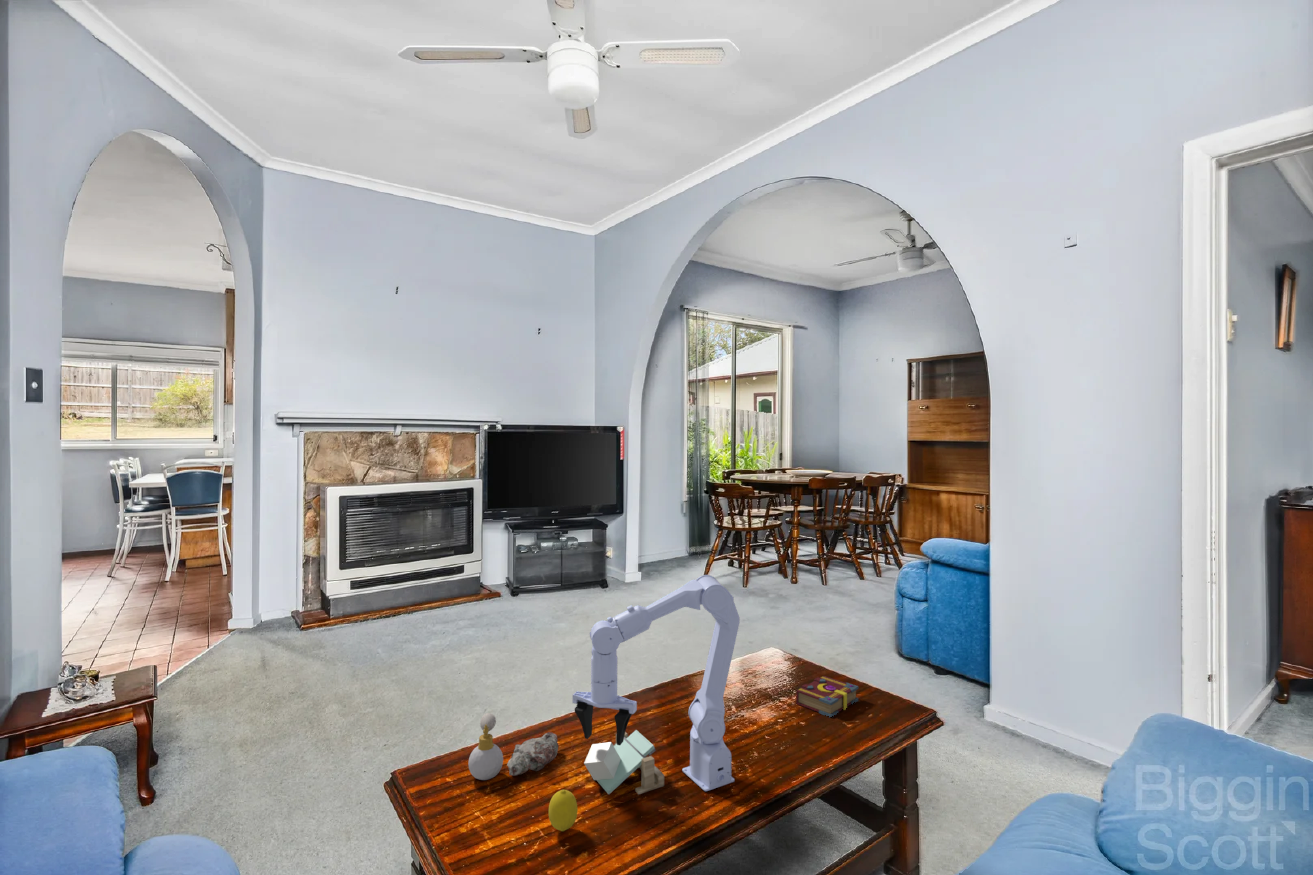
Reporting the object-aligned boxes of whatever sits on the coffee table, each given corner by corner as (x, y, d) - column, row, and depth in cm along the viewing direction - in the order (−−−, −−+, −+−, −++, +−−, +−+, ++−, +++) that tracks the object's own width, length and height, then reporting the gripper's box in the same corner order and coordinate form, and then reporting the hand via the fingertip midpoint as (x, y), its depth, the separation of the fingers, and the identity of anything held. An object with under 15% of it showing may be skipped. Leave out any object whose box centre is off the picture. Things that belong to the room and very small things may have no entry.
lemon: (578, 821, 123) (578, 781, 123) (575, 840, 118) (575, 798, 118) (550, 821, 123) (550, 781, 123) (546, 840, 118) (546, 798, 118)
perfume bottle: (473, 789, 134) (473, 734, 133) (461, 768, 142) (461, 716, 142) (507, 779, 138) (507, 725, 137) (494, 759, 146) (494, 708, 146)
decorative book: (795, 705, 175) (795, 687, 175) (825, 688, 187) (825, 671, 187) (831, 719, 167) (831, 700, 167) (860, 700, 179) (860, 683, 178)
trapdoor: (660, 754, 137) (656, 747, 136) (612, 800, 131) (607, 792, 131) (637, 734, 146) (633, 726, 146) (591, 775, 140) (587, 768, 140)
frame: (664, 785, 136) (664, 755, 136) (638, 794, 132) (638, 763, 132) (634, 756, 148) (634, 728, 147) (609, 763, 144) (609, 735, 144)
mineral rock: (515, 784, 136) (515, 764, 136) (496, 769, 142) (497, 749, 142) (570, 759, 146) (570, 741, 146) (551, 746, 152) (551, 728, 152)
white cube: (620, 758, 138) (611, 741, 137) (613, 778, 133) (603, 761, 132) (601, 760, 140) (592, 744, 139) (594, 780, 135) (584, 763, 134)
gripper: (642, 675, 137) (641, 736, 137) (582, 666, 142) (582, 725, 142) (629, 688, 130) (629, 752, 130) (567, 678, 135) (567, 740, 135)
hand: (604, 739), depth 136 cm, fingers open, 7 cm apart
